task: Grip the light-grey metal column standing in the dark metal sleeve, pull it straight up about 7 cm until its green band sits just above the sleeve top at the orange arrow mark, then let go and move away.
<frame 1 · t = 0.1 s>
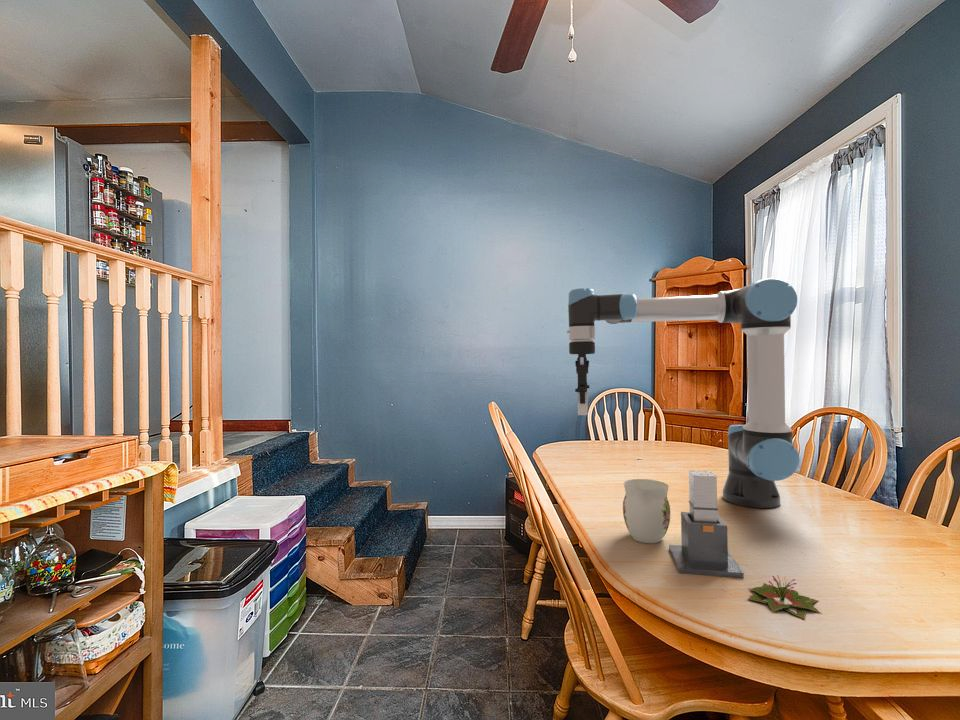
hand: (583, 412, 139), 28 cm above the table, tool pointing down, fingers open, 13 cm apart
column: (703, 515, 100), point 10 cm above the table, slide at 0.0 cm
pitcher: (647, 537, 115), on the table
stand: (703, 562, 100), on the table
lily flower: (782, 604, 84), on the table
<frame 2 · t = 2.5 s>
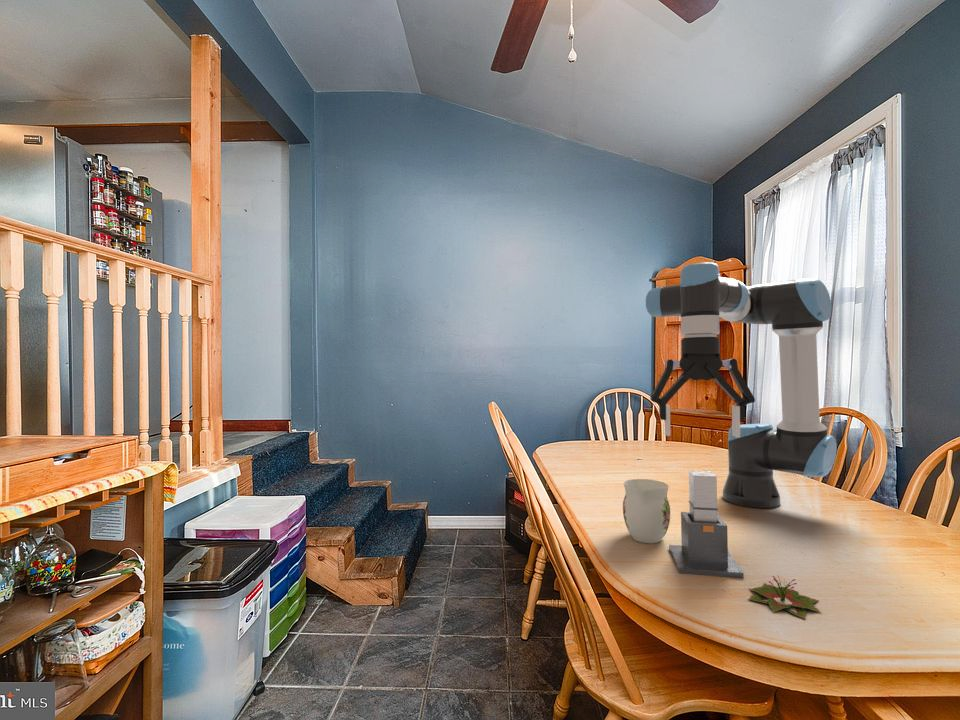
hand: (701, 435, 100), 27 cm above the table, tool pointing down, fingers open, 13 cm apart
nothing on the table moved.
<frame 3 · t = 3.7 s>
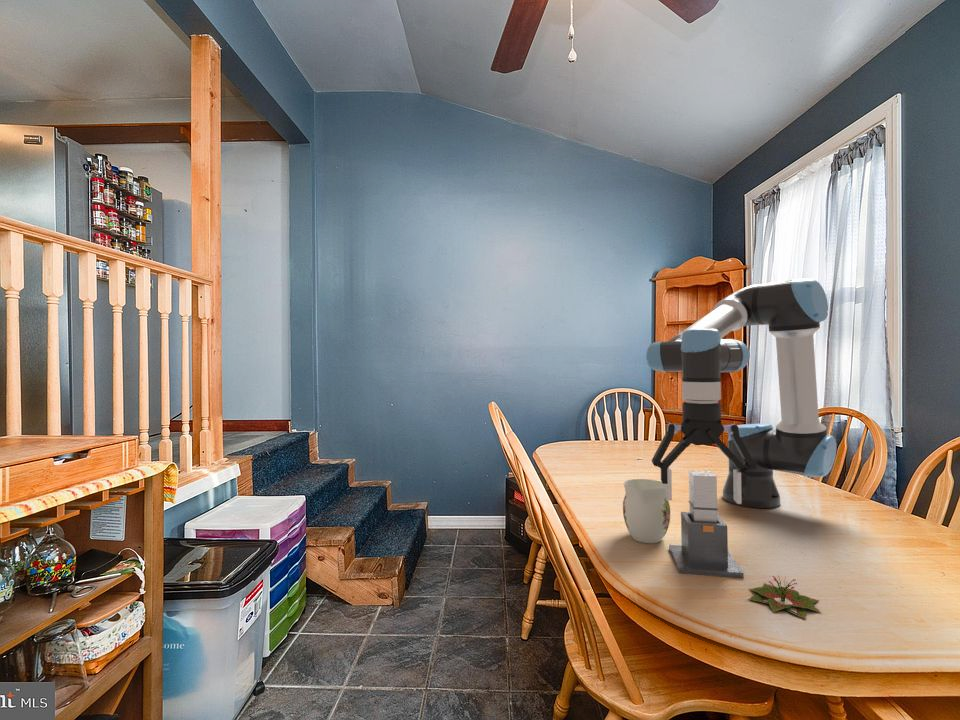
hand: (702, 500, 100), 13 cm above the table, tool pointing down, fingers open, 13 cm apart
nothing on the table moved.
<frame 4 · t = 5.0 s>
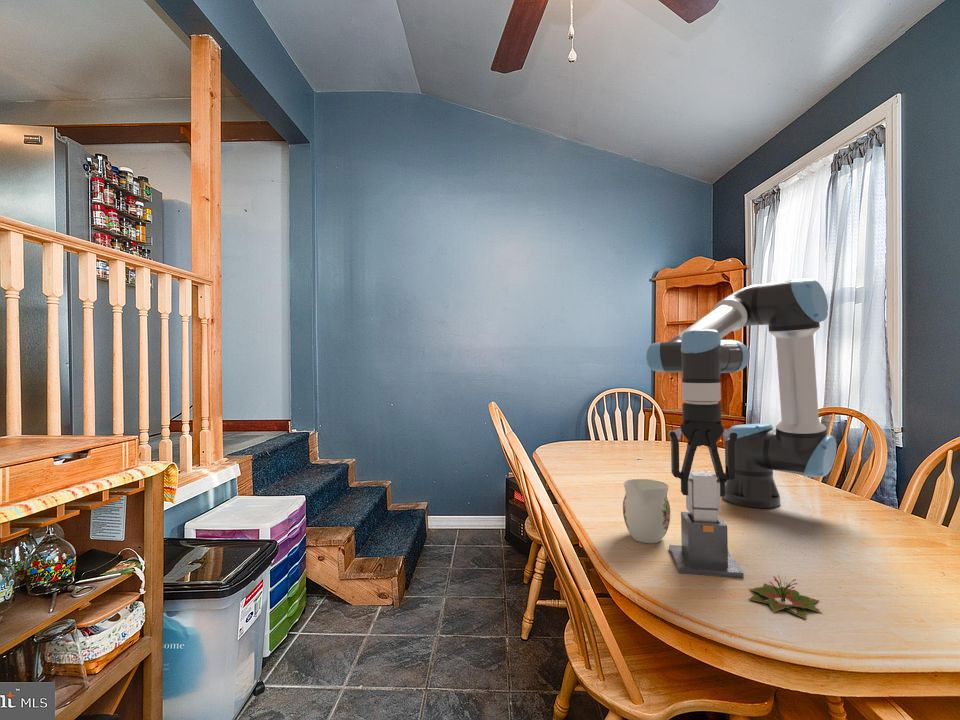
hand: (703, 510, 100), 11 cm above the table, tool pointing down, fingers closed on column, 5 cm apart
column: (703, 515, 100), point 10 cm above the table, slide at 0.0 cm, touching gripper
everything else where it was.
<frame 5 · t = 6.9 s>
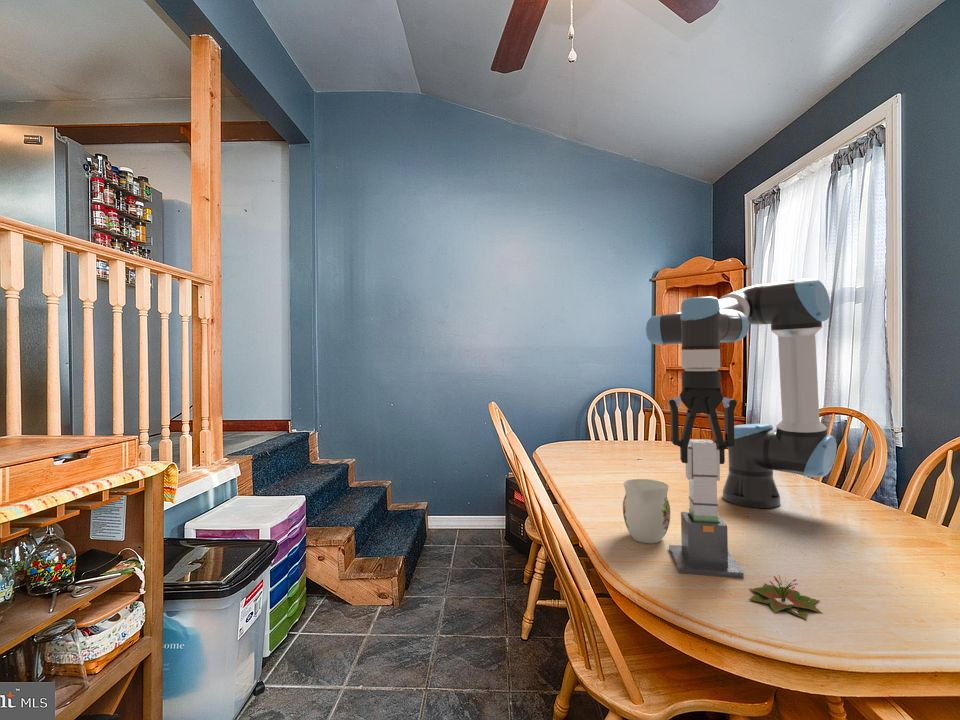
hand: (702, 478, 100), 18 cm above the table, tool pointing down, fingers closed on column, 5 cm apart
column: (702, 483, 100), point 17 cm above the table, slide at 6.9 cm, touching gripper
everything else where it was.
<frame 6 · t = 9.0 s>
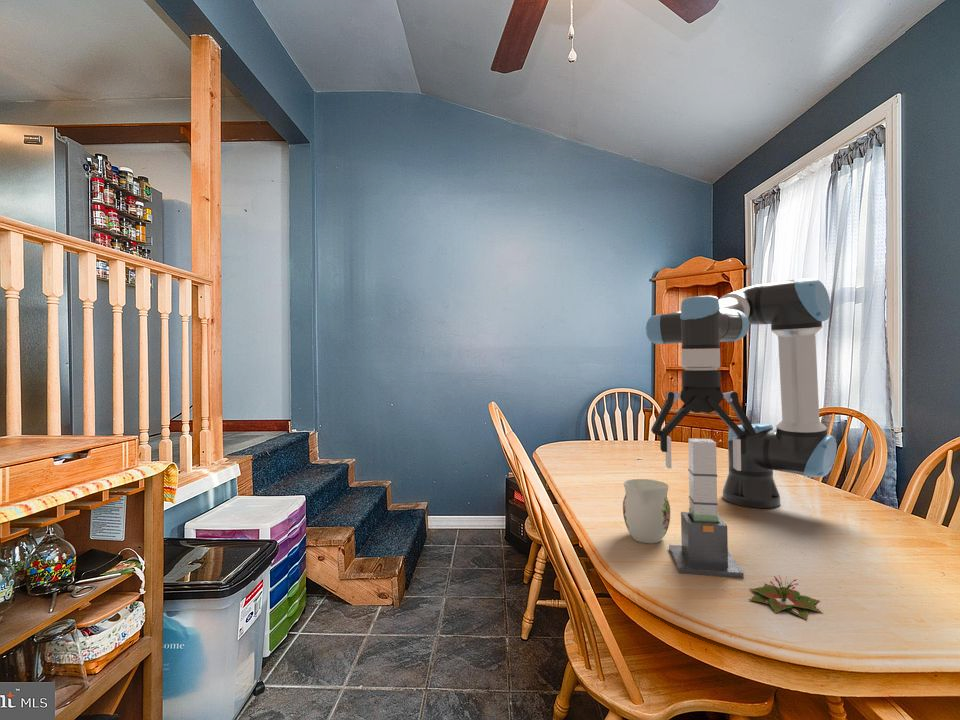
hand: (702, 468, 100), 20 cm above the table, tool pointing down, fingers open, 13 cm apart
column: (702, 482, 100), point 17 cm above the table, slide at 7.1 cm
everything else where it was.
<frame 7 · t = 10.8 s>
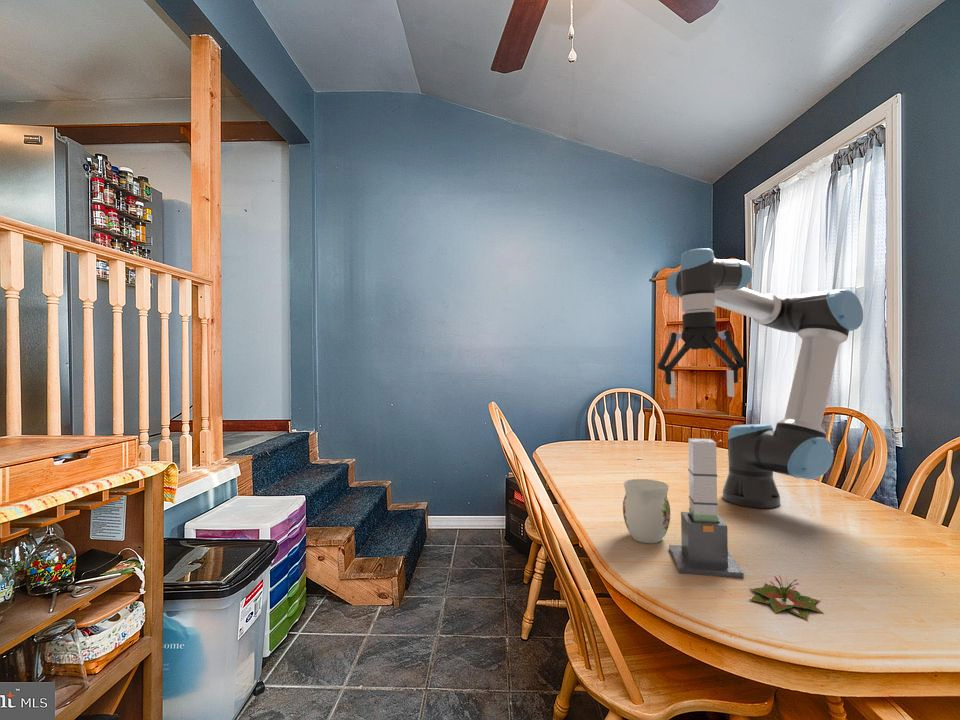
hand: (701, 397, 117), 34 cm above the table, tool pointing down, fingers open, 13 cm apart
nothing on the table moved.
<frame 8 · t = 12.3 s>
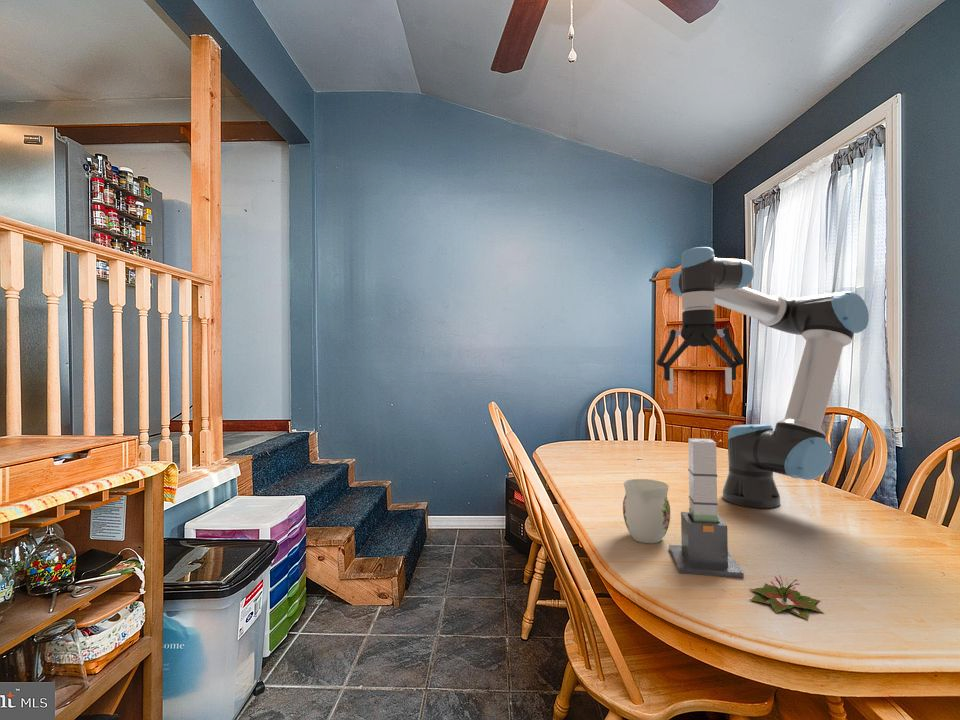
hand: (699, 393, 119), 35 cm above the table, tool pointing down, fingers open, 13 cm apart
nothing on the table moved.
at the end: column slide at 7.1 cm; the gripper is holding nothing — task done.
